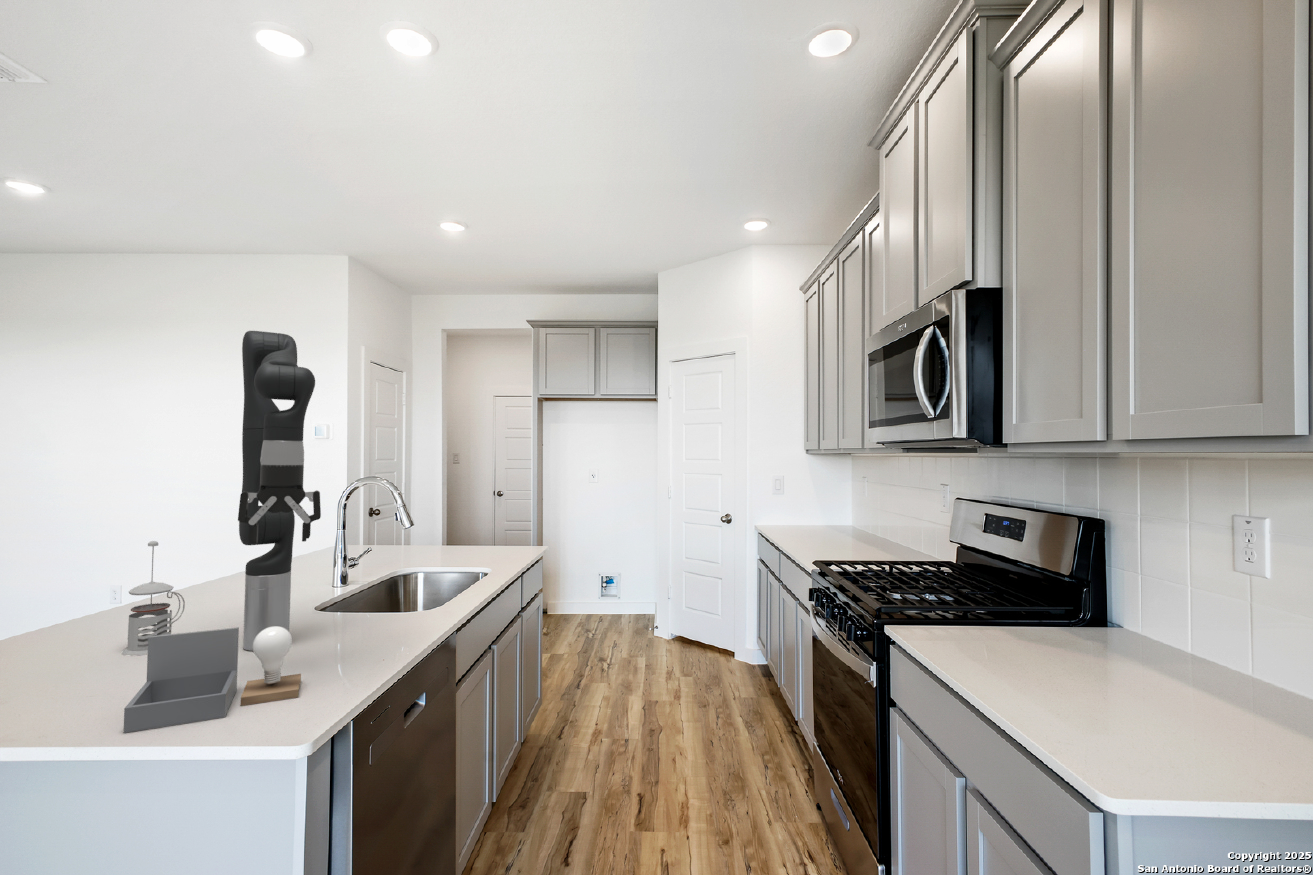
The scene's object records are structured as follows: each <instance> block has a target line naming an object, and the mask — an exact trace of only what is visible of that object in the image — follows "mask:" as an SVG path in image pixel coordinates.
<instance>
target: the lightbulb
mask: <svg viewBox="0 0 1313 875" xmlns="http://www.w3.org/2000/svg"><path fill="white" fill-rule="evenodd" d="M292 643H293V638H292V634H291V632H290V630H289V631H288V630H287V629H285V628H283V627H280V626H272V627H268V628H266V629H264V630H262V631H261V632H260V633H259V634H258V635H257V636H256V637H255V639H254V642H253V654H254V655H255V657H256V658H257V659H258V660H259V661H260V663H261V668H262V669H263V674H264V675H263V676H264V677H263V679H264V680H265V681H264V683H265V684H268V685H274V684H276V683H277V682H279V681H280V680H281V679H280V676H281V669H282V668H281V667H283V666H282V665H283V663H284V659H285V657H286V656H287V654H288V653H289V651H290V649H291V647H292Z"/></svg>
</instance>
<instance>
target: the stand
mask: <svg viewBox="0 0 1313 875" xmlns="http://www.w3.org/2000/svg"><path fill="white" fill-rule="evenodd" d="M264 679H265V678H259V679H258V678H257V679H252V680H247V681H246V684H245V686H244V688H243V691H242V693H241V695H240V704H239V705H240V707H243V706H250V705H257V704H263V703H271V702H277V701H282V700H289V699H290V698H291V699H296V698H299V694H300V690H301V681H302V673H296V674H288V675H282V676H280V679H281V680H280V681H279V682H277V683H276V684H274V685H268V684H265V683H264V681H265V680H264ZM291 699H290V700H291Z"/></svg>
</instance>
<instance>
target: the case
mask: <svg viewBox="0 0 1313 875" xmlns="http://www.w3.org/2000/svg"><path fill="white" fill-rule="evenodd" d="M239 628H240V627H229V628H221V629H219V628H218V629H209V630H208V629H207V630H201V631H200V630H197V631H189V632H179V633H171V634H167V635H157V636H149V637H148V655H147V658H146V662H147V663H146V682H144V684H143V685H142V687H141V688H140V689H138V691H137V692H136V693H135V695H134V696H133V697H132V699H131V700H130V701H128V703H127V704H126V706H125V707H124V710H123V733H122V734H127V733H133V732H139V731H146V730H147V731H148V730H153V729H158V728H159V729H160V728H165V727H171V726H179V725H184V724H190V723H196V722H203V721H210V720H216V719H223V718H226V716H227V713H228V712H229V709H230V706H231V704H232V702H233V699H234V697H235V694H236V692H237V690H238V665H239V663H238V662H239V633H240V629H239Z"/></svg>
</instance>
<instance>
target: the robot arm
mask: <svg viewBox="0 0 1313 875" xmlns="http://www.w3.org/2000/svg"><path fill="white" fill-rule="evenodd" d="M297 346H298V345H297V343H296V341H295V339H294V337H292V336H291V335H289V334H285V333H280V332H279V333H278V332H271V331H270V332H269V331H261V330H247V331H246V332H245V333H244V335H243V338H242V347H241V350H242V351H241V352H242V354H241V357H242V375H243V397H244V398H243V414H242V417H243V418H242V434H241V436H242V437H241V440H242V442H241V445H242V446H241V447H242V448H241V449H242V452H241V453H242V482H241V483H242V486H241V493H240V496H239V505H238V515H237V522H239V523H238V527H239V528H238V533H239V540H240V542H241V543H242V544H243V545H245V546H258V545H271V544H273V545H274V546H273V547H272V548H271V549H270V550H269V551H268V552H266V553H264V554H263V555H260V556H258V557H255V558H253V559H251V560H249V561H248V562H246V564H245V571H244V572H245V576H244V579H245V580H244V612H243V613H244V614H243V635H242V639H243V640H242V648H243V650H247V651H253V642H254V639H255V637H256V636H257V635H258V634H259V633H260V632H261V631H262V630H264V629H266V628H268V627H272V626H280V627H283V628H285V629H287V630H288V631H289V632H290V627H291V626H290V622H291V620H290V619H291V591H292V589H291V588H292V582H291V581H292V562H293V547H294V535H295V525H296V518H295V517H296V516H295V514H296V515H297V516H298V517H299V518H300V519H301V520H302V521H303V522H302V530H301V532H302V534H301V542H307V539H309V538H310V537H311V530H312V529H311V523H313V522H315V521H318V520H320V519H321V517H322V513H321V492H320V491H319V490H317V489H316V490H314V491H305V490H304V471H305V470H304V468H305V467H304V464H305V449H304V430H305V429H304V428H305V426H304V425H305V420H306V418H305V417H306V413H307V409H308V407H309V403H310V401H311V398H312V396H313V393H314V391H315V387H316V378H315V375H314V374H313V372H312V371H311V370H310V368H306V367H303V366H299V365H298V347H297ZM273 400H279V401H294V402H293V404H292V406H291V407H289V408H288V409H284V410H283V409H282V410H280V408H279V407H278V406H277V404H276V403H275V402H274V401H273ZM305 498H308V500H309V502H311V503H313V504H312V505H313V514H310V515H309V514H308V513H307V511H305V510H306V509H304V508H303V507H302V505H301V502H303V500H304V499H305ZM259 504H261V505H259ZM253 652H254V651H253Z"/></svg>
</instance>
